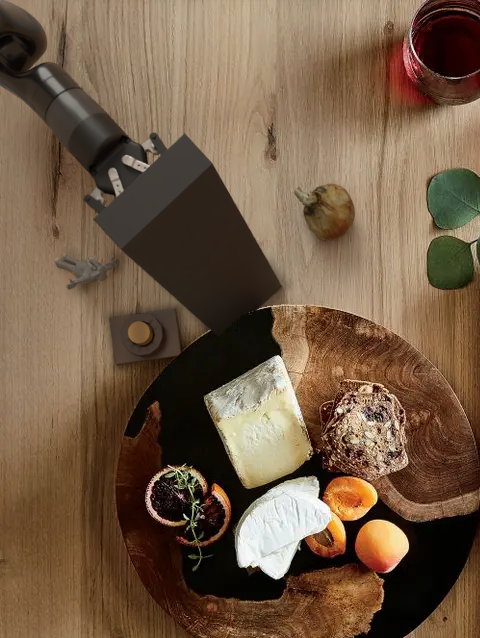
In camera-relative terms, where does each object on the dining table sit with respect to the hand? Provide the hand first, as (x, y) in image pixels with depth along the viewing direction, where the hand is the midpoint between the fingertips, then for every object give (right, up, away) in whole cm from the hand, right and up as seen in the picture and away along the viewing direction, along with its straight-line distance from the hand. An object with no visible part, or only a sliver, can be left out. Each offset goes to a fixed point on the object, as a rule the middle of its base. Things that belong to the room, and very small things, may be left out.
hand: (170, 222), depth 114 cm
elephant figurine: (-14, -5, +10) cm, 18 cm away
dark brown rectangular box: (+5, -5, +9) cm, 11 cm away
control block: (-6, -14, +9) cm, 18 cm away
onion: (+22, +3, +9) cm, 23 cm away
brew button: (-6, -14, +7) cm, 17 cm away
